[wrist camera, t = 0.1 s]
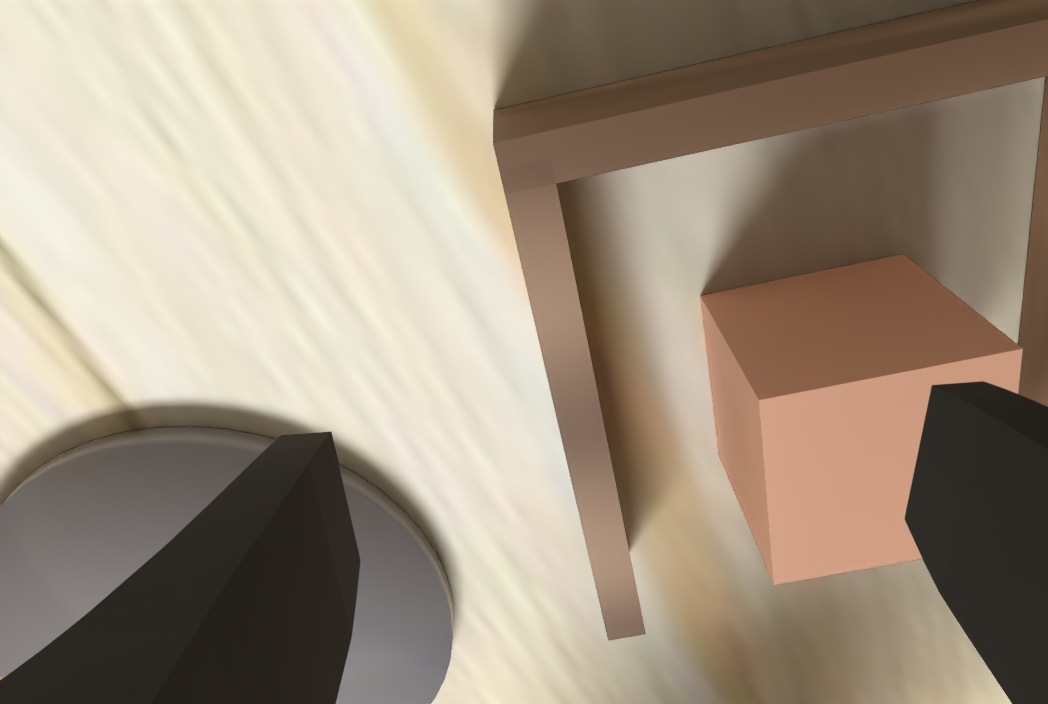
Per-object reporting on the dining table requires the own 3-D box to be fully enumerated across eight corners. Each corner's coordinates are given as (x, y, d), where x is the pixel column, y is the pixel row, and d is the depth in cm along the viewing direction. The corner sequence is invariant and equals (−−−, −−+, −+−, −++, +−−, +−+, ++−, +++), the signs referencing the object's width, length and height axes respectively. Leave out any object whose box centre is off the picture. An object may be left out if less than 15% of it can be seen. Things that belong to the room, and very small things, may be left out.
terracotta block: (898, 419, 22) (1002, 544, 17) (717, 453, 22) (773, 585, 18) (902, 252, 19) (1022, 348, 15) (699, 294, 20) (758, 399, 15)
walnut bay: (1039, 479, 23) (1111, 552, 20) (595, 560, 23) (608, 640, 21) (1105, -29, 16) (1223, -21, 14) (493, 109, 17) (492, 143, 14)
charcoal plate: (498, 722, 27) (498, 743, 26) (116, 787, 28) (106, 809, 27) (377, 380, 20) (373, 396, 20) (-119, 481, 21) (-140, 500, 21)
